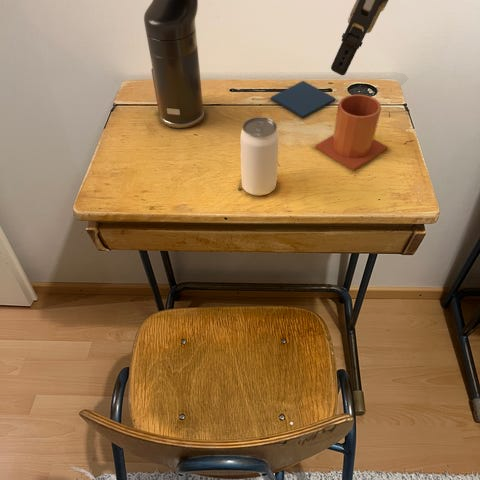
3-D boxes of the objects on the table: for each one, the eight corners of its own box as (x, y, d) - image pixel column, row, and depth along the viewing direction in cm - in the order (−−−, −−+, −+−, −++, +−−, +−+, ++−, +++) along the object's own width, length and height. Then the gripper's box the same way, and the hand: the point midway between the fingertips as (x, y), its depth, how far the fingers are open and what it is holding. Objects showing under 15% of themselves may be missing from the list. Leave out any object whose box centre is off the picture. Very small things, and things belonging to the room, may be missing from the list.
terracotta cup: (323, 148, 92) (330, 105, 85) (349, 132, 95) (357, 89, 88) (352, 165, 89) (361, 122, 81) (378, 149, 91) (389, 106, 84)
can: (239, 195, 85) (237, 136, 75) (244, 173, 88) (242, 114, 78) (274, 198, 84) (277, 139, 74) (277, 175, 88) (281, 116, 78)
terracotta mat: (315, 147, 92) (315, 145, 92) (349, 128, 96) (349, 125, 95) (353, 171, 88) (354, 168, 87) (387, 149, 91) (388, 147, 91)
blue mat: (270, 99, 103) (270, 96, 102) (302, 83, 106) (303, 80, 106) (302, 118, 98) (303, 115, 98) (335, 100, 102) (335, 98, 101)
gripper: (386, -101, 58) (329, 33, 71) (370, -83, 49) (308, 67, 62) (439, -74, 58) (373, 55, 71) (432, -50, 49) (358, 92, 62)
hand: (343, 61), depth 66 cm, fingers open, 8 cm apart
